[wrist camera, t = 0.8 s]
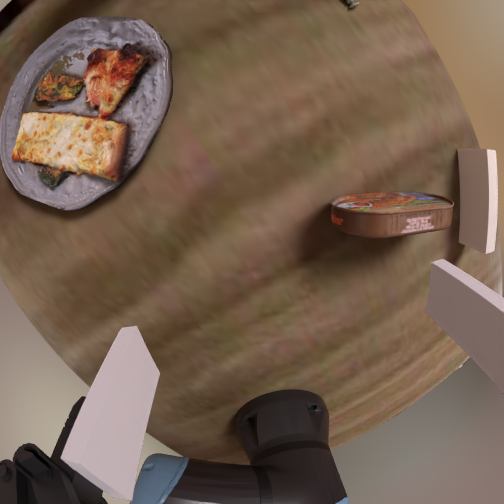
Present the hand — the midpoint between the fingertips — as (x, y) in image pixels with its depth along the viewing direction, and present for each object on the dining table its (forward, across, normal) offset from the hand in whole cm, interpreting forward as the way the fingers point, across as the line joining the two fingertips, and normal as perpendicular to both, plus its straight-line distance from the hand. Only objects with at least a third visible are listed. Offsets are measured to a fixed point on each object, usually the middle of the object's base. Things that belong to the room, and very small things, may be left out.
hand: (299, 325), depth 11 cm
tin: (+20, -14, +1) cm, 24 cm away
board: (+20, -31, +2) cm, 37 cm away
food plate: (+20, +18, -18) cm, 32 cm away
